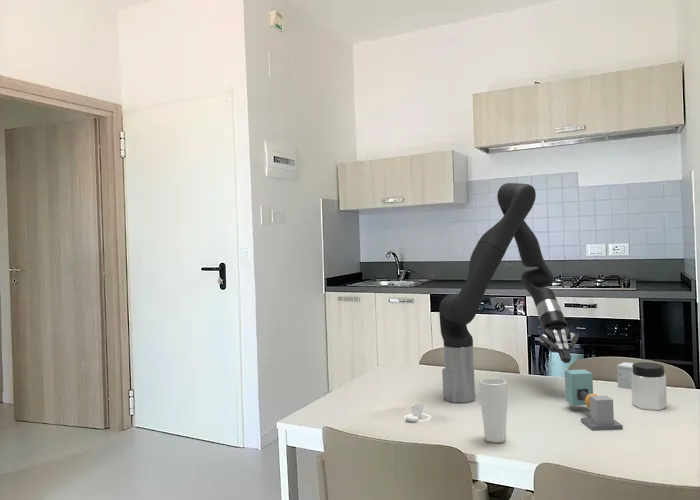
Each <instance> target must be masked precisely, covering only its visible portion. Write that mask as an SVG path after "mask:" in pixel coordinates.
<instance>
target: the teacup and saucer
mask: <svg viewBox="0 0 700 500" xmlns="http://www.w3.org/2000/svg"><path fill="white" fill-rule="evenodd" d="M423 410H424V405H423V404H422V403H413V404H411V412H412V413H408V414H406V415H404V416H403V419H404V420H405V421H407V422H411V423H423V422H427V421H430V420H431V419H433V418H432V416H431V415H429V414H428V413H424V412H423ZM422 416H426V419H424V420H423V419H422V420H419V419H421V418H422Z"/></svg>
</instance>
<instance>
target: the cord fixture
mask: <svg viewBox="0 0 700 500" xmlns="http://www.w3.org/2000/svg"><path fill="white" fill-rule="evenodd" d="M577 396H578V397H579V398H581V399H582V400H584V401H585V404H586V405H585V406H586V407H587V408H588V409H589V411H590V412H589V413H590V417H580V422H581V424H583V425H584V426H586V427H587V428H588V429H590V430H591V431H607V430H608V431H611V430H624V425H623V424H622V423H620V422H618V421H617V420H615V418H614V417H615V415H614V414H615V413H614V399H613V398H611V397H610V396H608V395H599V394H596V393H593V394H589V393H587V392H585V391H584V390H582V389H577Z"/></svg>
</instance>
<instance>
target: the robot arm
mask: <svg viewBox="0 0 700 500" xmlns="http://www.w3.org/2000/svg"><path fill="white" fill-rule="evenodd" d="M536 194H537V193H536V189H535V188H534V186H533V185H531V184H527V183H520V182H519V183H517V182H515V183H514V182H506V183H503V184H502V185H501V186H500V187H499V188H498V191H497V196H496V197H497V203H498V205H499V208H500V210H501V212H502V214H503V216H502V218H501V219H499V221H498V222H496V223H495V224H494V225H493V226H492V227H490V228H489V229H487V231H486V232H485V233H483V235H481V236H480V238H479V239H478V241H477V243H476V245H475V247H474V249H473V250H472V252H471V254H470V255H471V256H470V260H469V263H468V264H469V265H468V275H467V277H466V280H465V283H464V284H463V286H462V288H461V289H460V291H459V293H458V294H447V295H446V296H445V297H444V298H442V299H441V301H440V304H439V310H438V311H439V314H438V315H439V325H440V335H441V338H442V341H443V356H444V357H443V358H444V363H443V364H444V368H442V370H441V371H442V372H441V374H442V375H441V377H442V397H443V399H444V400H447V401H448V402H450V403H453V404H454V403H471V402H474V401H475V400H476V386H475V385H476V384H475V383H476V382H475V363H474V361H475V360H474V359H475V357H474V340H473V338H474V337H473V336H472V335H471V333H470V332H469V330H468V327H467V326H468V325H469V324H470V323H471V322H472V321H473V320H474V319H475V317H476V315H477V314H478V310H479V307H480V305H481V302H482V300H483V298H484V295H485V292H486V290H487V288H488V287H489V284H490V283H491V280H492V279H493V276H494V275H495V273H496V271H497V269H498V268H499V266H500V264H501V262H502V260H503V258H504V256H505V254H506V252H507V250H508V248H509V246H510V244H511V242H512V240H513V238H514V240H515V244H516V247H517V249H518V254H519V257H520V260H521V263H522V265H523V266H524V267H527V268H532V269H530V270H526V271H524V272H523V273H522V274H521V277H520V279H521V285H522V286H523V287H524V289H525V290H526V291H527V292H528V294H529V295H530V296H531V298H532V299H533V303H534V305H535V308H536V313H537V316H538V319H539V322H540V324H541V327H542V331H543V333H542V334H541V335H539V339H538V342H539V343H540V344H541V345H542V346H544V347H545V348H546V349H548V350H549V351H551V352H552V353H558V355H559V358H560V361H561V362H563V364H570V362H571V360H572V355H571V353H570V352H572V351H573V348H574V347H575V345H576V343H577V341H578V339H579V337H580V334H579V333H574V332H571V330H570V329H569V327H568V324H567V321H566V319H565V316H564V313H563V311H562V308H561V306H560V305H559V303H558V300H557V297H556V294H555V292H554V290H553V289H551V288H550V286H552V285H553V283H554V280H555V279H554V278H555V277H554V274H553V273H552V271H551V269H550V268H549V266H548V264H547V263H546V262H545V259H544V258H543V254H542V250H541V246H540V242H539V241H538V238H537V236H536V234H535V233H534V232H533V230H532V228H530V226H529V225H528V223H527V222H526V221H525V219H526V218H527V216H528V214H529V213H530V211H531V209H532V208H533V206H534V203H535V201H536V196H537V195H536ZM569 337H570V340H571V341H570V343H569V344H568V339H569Z"/></svg>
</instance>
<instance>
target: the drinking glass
mask: <svg viewBox="0 0 700 500" xmlns="http://www.w3.org/2000/svg"><path fill="white" fill-rule="evenodd" d="M507 382H508V381H507V380H506V379H503V378H498V377H486V378H481V379H480V380H479V398H480V399H479V400H480V407H481V415H482V423H483V424H482V425H483V434H484V435H483V436H484V439H485V440H486V441H487V442H489V443H493V444H501V443H504V442H505V441H506V440H507V418H508V417H507V415H508V383H507Z"/></svg>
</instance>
